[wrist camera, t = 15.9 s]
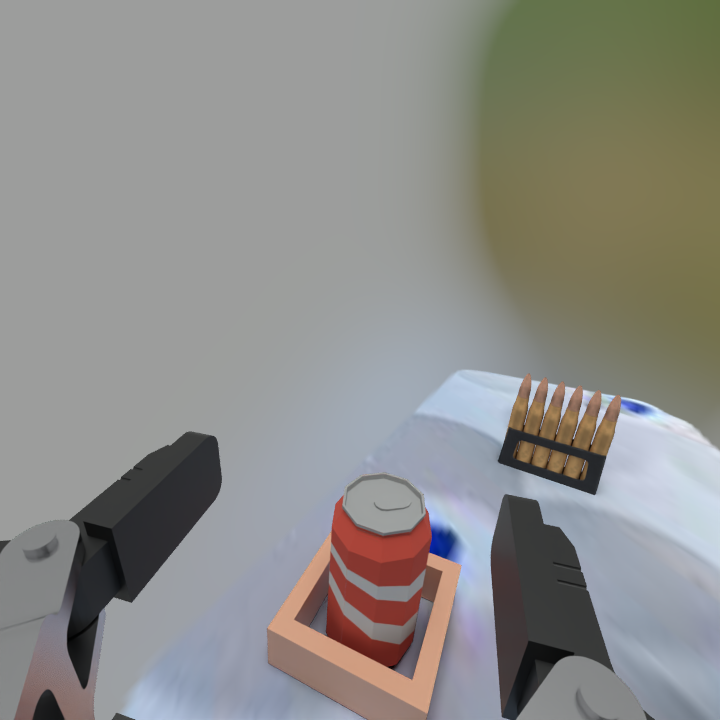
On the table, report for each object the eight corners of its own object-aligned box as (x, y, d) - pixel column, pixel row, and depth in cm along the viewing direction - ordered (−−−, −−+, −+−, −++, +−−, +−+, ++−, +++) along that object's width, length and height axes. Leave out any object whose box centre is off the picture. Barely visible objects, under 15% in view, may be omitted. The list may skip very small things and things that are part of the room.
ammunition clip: (497, 462, 49) (519, 374, 44) (500, 454, 50) (521, 368, 46) (595, 495, 44) (630, 401, 40) (594, 485, 46) (628, 394, 41)
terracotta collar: (338, 548, 35) (339, 518, 34) (454, 596, 32) (461, 565, 30) (268, 663, 26) (267, 628, 25) (419, 748, 23) (427, 713, 21)
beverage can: (425, 663, 27) (453, 530, 22) (333, 686, 25) (343, 547, 21) (396, 584, 32) (414, 463, 28) (318, 598, 31) (324, 473, 26)
